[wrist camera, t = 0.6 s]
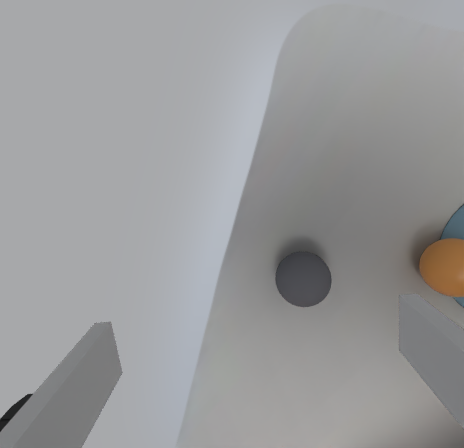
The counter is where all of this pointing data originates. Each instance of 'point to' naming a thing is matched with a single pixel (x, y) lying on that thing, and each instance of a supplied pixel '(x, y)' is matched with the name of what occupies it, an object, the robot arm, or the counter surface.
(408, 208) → the counter surface
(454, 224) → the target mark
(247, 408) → the counter surface
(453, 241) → the object ball
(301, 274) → the dark grey ball
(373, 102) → the counter surface
